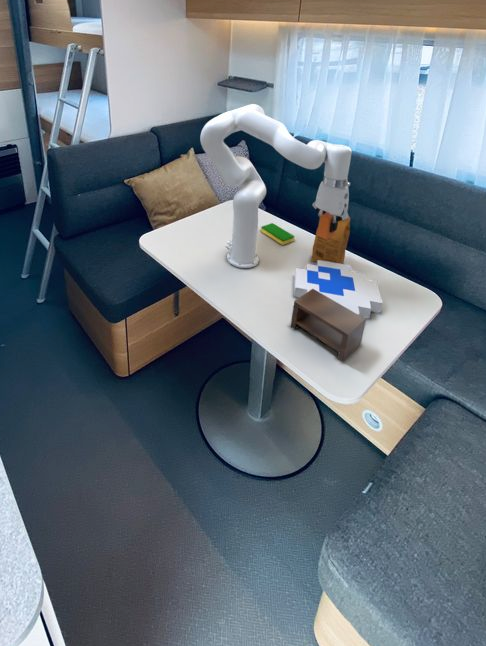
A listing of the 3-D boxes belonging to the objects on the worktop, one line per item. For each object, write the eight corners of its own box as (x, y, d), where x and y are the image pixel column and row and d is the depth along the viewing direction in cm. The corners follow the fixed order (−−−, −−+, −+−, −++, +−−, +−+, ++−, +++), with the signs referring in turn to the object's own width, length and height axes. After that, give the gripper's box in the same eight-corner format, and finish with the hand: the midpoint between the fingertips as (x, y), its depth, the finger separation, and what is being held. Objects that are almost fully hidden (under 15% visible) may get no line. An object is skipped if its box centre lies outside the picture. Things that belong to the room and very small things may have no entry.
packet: (317, 235, 145) (320, 215, 142) (326, 230, 148) (329, 210, 145) (326, 239, 142) (329, 219, 139) (335, 234, 146) (338, 214, 143)
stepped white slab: (294, 302, 135) (296, 256, 160) (293, 311, 136) (295, 265, 161) (386, 319, 128) (373, 269, 153) (384, 329, 129) (371, 277, 154)
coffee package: (319, 250, 172) (326, 203, 164) (347, 263, 163) (356, 214, 156) (306, 259, 165) (314, 211, 157) (335, 273, 157) (345, 222, 149)
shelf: (290, 326, 129) (294, 301, 126) (308, 313, 135) (312, 288, 132) (342, 362, 117) (348, 335, 113) (360, 345, 123) (366, 319, 119)
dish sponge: (282, 245, 175) (283, 240, 174) (260, 231, 186) (260, 226, 185) (294, 240, 178) (294, 236, 177) (271, 227, 189) (272, 222, 188)
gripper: (363, 186, 134) (354, 235, 141) (319, 171, 146) (312, 217, 153) (352, 191, 130) (343, 242, 136) (307, 176, 142) (301, 223, 148)
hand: (327, 228), depth 144 cm, fingers closed on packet, 3 cm apart
